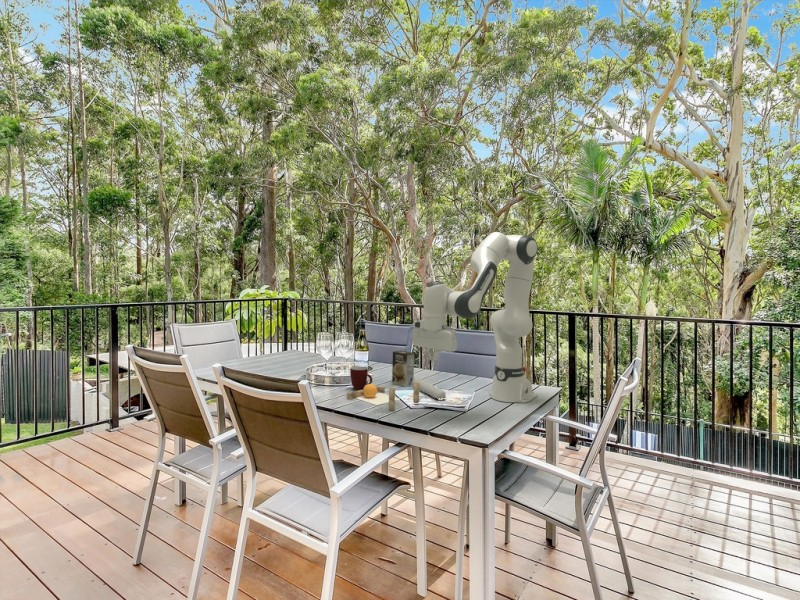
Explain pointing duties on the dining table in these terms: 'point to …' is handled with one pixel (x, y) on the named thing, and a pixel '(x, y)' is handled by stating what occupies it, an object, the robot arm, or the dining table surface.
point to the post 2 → (416, 392)
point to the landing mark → (377, 399)
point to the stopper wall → (360, 393)
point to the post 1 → (391, 399)
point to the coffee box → (403, 368)
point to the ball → (370, 390)
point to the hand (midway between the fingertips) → (433, 360)
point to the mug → (359, 377)
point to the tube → (429, 388)
